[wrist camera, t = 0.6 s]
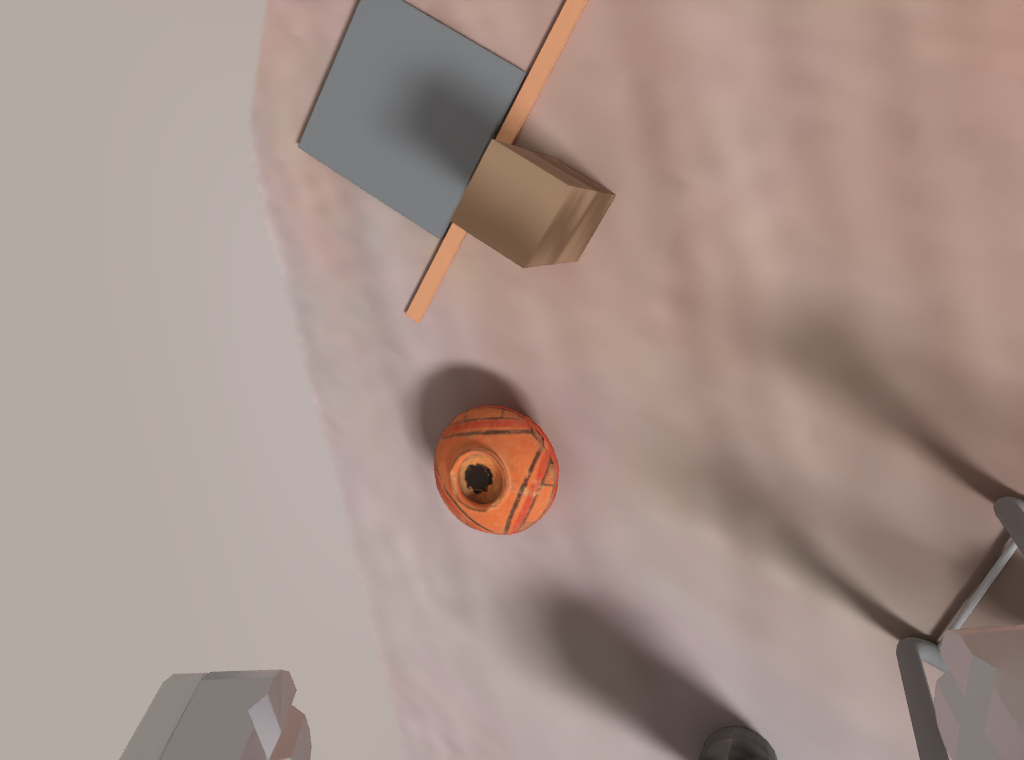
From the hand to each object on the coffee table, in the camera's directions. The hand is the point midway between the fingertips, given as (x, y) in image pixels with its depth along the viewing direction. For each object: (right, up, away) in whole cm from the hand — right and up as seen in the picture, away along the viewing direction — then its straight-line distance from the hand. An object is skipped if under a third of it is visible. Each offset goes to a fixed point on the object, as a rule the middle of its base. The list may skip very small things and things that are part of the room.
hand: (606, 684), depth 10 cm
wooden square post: (+2, +14, +37) cm, 39 cm away
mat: (-8, +20, +39) cm, 45 cm away
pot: (-1, -1, +41) cm, 41 cm away
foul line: (-2, +17, +38) cm, 42 cm away
